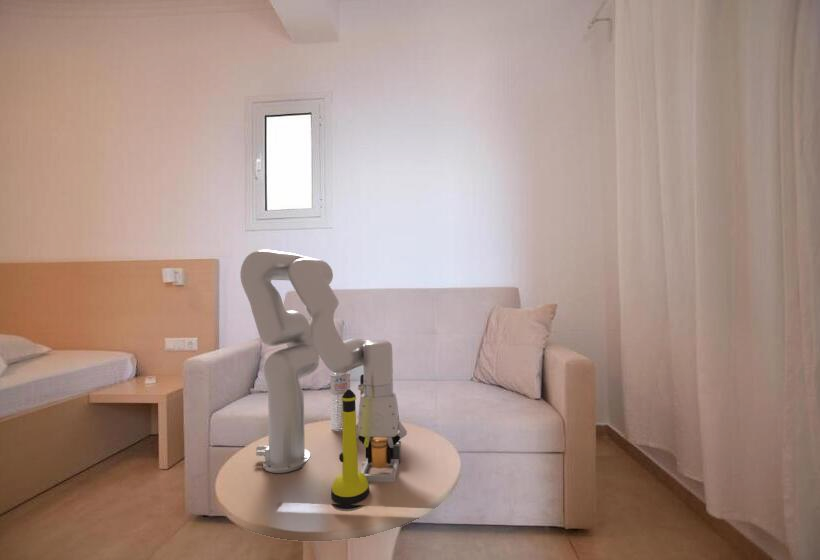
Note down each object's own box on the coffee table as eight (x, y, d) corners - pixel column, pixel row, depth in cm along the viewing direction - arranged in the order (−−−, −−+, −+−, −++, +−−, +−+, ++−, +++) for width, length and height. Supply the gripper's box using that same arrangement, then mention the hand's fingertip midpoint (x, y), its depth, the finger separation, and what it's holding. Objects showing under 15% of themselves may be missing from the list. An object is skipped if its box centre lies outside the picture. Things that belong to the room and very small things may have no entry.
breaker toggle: (388, 462, 95) (388, 445, 95) (390, 457, 98) (390, 440, 98) (399, 463, 95) (399, 445, 95) (401, 457, 98) (400, 440, 98)
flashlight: (369, 384, 86) (333, 384, 86) (366, 395, 77) (325, 396, 77) (371, 487, 86) (334, 488, 86) (368, 510, 77) (326, 511, 77)
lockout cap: (373, 459, 93) (372, 436, 93) (390, 459, 92) (389, 436, 93) (369, 468, 88) (369, 443, 88) (387, 468, 88) (386, 444, 88)
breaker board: (338, 485, 87) (338, 474, 87) (353, 457, 101) (353, 448, 101) (395, 487, 86) (394, 476, 86) (401, 459, 100) (401, 449, 100)
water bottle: (327, 434, 117) (326, 358, 118) (335, 426, 124) (334, 354, 125) (347, 435, 116) (346, 359, 117) (353, 427, 123) (352, 355, 123)
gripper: (342, 393, 88) (343, 467, 87) (409, 394, 86) (411, 469, 86) (350, 385, 95) (351, 453, 95) (412, 385, 94) (413, 454, 93)
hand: (379, 460), depth 90 cm, fingers closed on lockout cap, 4 cm apart
